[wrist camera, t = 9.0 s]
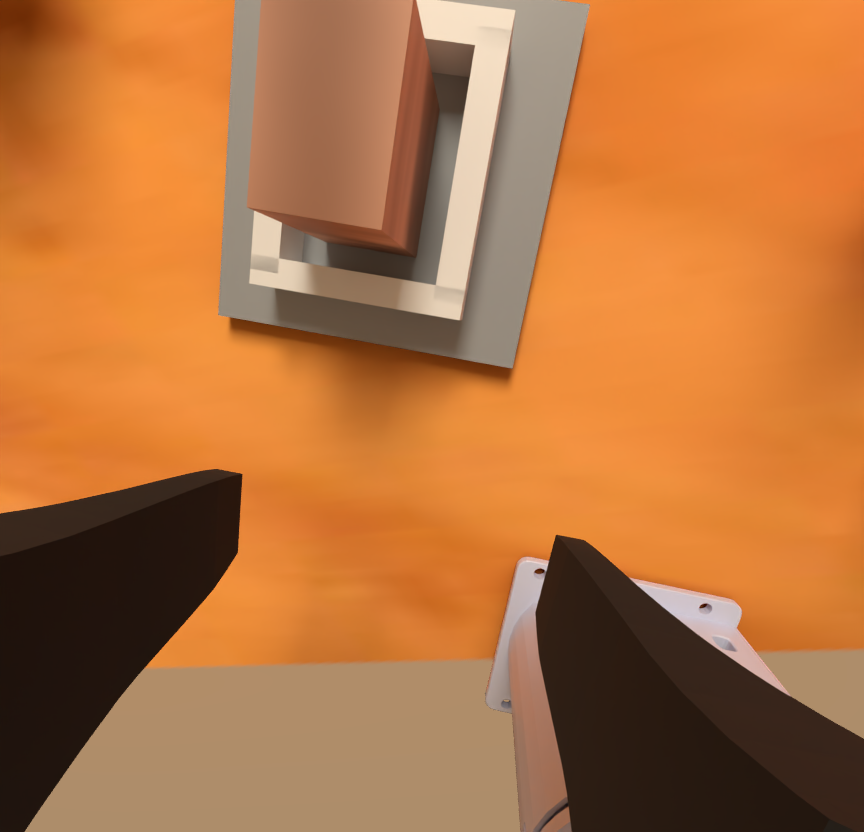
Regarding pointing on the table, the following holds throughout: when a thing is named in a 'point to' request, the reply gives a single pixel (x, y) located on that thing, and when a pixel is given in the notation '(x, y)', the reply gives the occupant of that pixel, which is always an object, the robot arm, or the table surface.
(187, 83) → the table surface
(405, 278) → the grey framed tray
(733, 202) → the table surface
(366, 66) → the block
